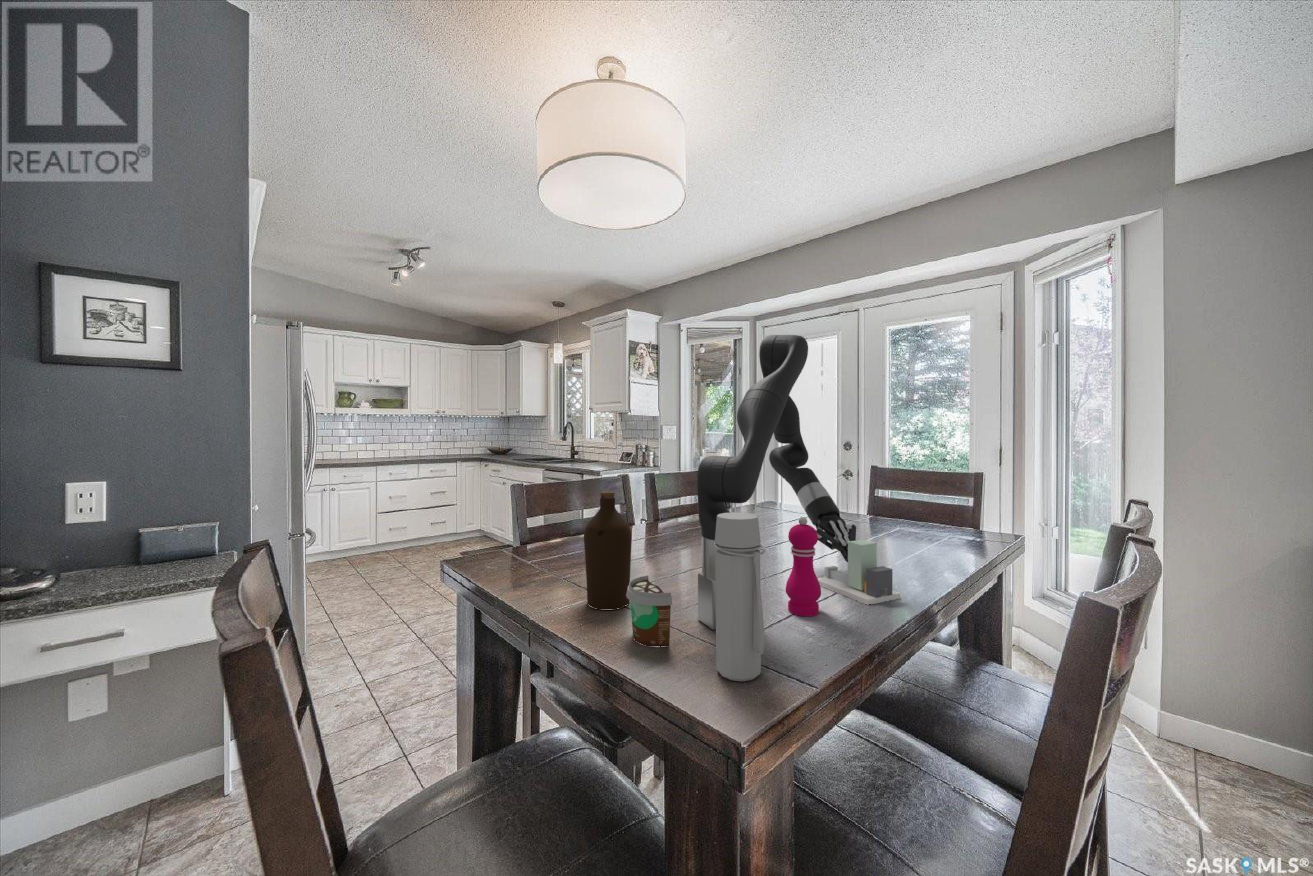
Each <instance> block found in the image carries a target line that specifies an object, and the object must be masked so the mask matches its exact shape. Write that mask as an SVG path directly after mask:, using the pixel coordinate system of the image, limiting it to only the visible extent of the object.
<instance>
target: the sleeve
mask: <svg viewBox="0 0 1313 876" xmlns="http://www.w3.org/2000/svg"><path fill="white" fill-rule="evenodd" d="M877 545H878V544H877V542H874V541H870V540H866V539H859V540H856V541H848V562H847V574H848V586H851V587H853V588H856V589H859V590H864V581H866V569H868V568H874V567H878V566H877V565H878V562H877V561H878V560H877V559H878V558H877V557H878V556H877V552H878V550H877V549H878V548H877Z"/></svg>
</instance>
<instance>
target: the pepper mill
mask: <svg viewBox="0 0 1313 876" xmlns="http://www.w3.org/2000/svg"><path fill="white" fill-rule="evenodd" d="M816 530H817V529H816V528H814V527H813V526H811V525H809V524H808V519H807V517H805V516H801V517H800V518H798V524H795V525H793V526H792V527H791V528H790V529H789V531H788V536H787V537H788V541H789V543H790V544H791V546H790V550H791V551H790V554H791V555H792V557H793V559H792V560H793V561H792V564H793V565H792V568H791V572H790V574H789V577H788V578H787V580H786V584H785V593H786V595H787V597H788V598H789V600H788V601H787V610H788V612H789V613H791V614H792V615H795V616H799V617H814V616H817V615H818V614H819V613H820V607H819V606H820V604H819V603H818V600H819V599H820V598H821V596H822V587H821V586H820V584H819V581H818V579H817V578H818V577H817V575H816V572H815V568H814V556H816V548H815V545H817V543H818V535H817V532H816Z"/></svg>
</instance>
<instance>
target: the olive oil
mask: <svg viewBox="0 0 1313 876" xmlns="http://www.w3.org/2000/svg"><path fill="white" fill-rule="evenodd" d="M599 493H600V494H599V495H600V497H599V509H598V511H597V512H596V513H595V514H594V515H593V516H592V517H591V519H589V521H588V522H587V524H586V526H585V529H584V532H583V546H584V561H585V576H586V578H585V579H586V601H587V603H586V604H587V605H588V604H589V605H590V606H592V607H594V608H597V609H617V608H621V607H623V606H625V605H627V604H628V605H630V600H629V599H628V598H627V597H626V593H627V588H628V586H629V583H630V581H631V565H632V564H631V562H632V560H631V559H632V541H633V540H632V539H633V538H632V537H633V535H632V530H631V526H630V524H629V522H628V521H627V520H626V518H625V517H623V515H622V514H620V512H619V511H618V510H617V509H616V497H615V495H616V494H615V493H616V492H615V491H613V490H605V491H601V492H599ZM628 605H627V606H628ZM621 609H622V608H621ZM617 610H618V609H617Z"/></svg>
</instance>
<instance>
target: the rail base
mask: <svg viewBox="0 0 1313 876" xmlns="http://www.w3.org/2000/svg"><path fill="white" fill-rule="evenodd" d="M817 579H818V581H819V584H820V587H821V586H823V587H822V588H824V587H825V589H826V588H827V589H826V590H829V591H831V592H834V591H835V592H834V593H837V594H839V595H842V596H844V595H845V597H846V596H847V597H846V598H849V599H852V600H854V601H856V600H857V602H858V603H861V604H864V605H866V604H867V605H866V606H869V604H871V605H874V604H879V603H885V601H886V602H889V601H890V600H891V601H896V600H900V599H901V596H902V595H901V593H900V592H897V591H895V590H893V568H891V567H887V566H883V565H882V566H877V567H874V568H868V569H866V581H864V590H859V589H856V588H853V587H851V586H848V573H846V572H844V571H840V570H839V567H838V566H835V565H833V566H831V565H830V566H825V567H824V576H823V577H817Z"/></svg>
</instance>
